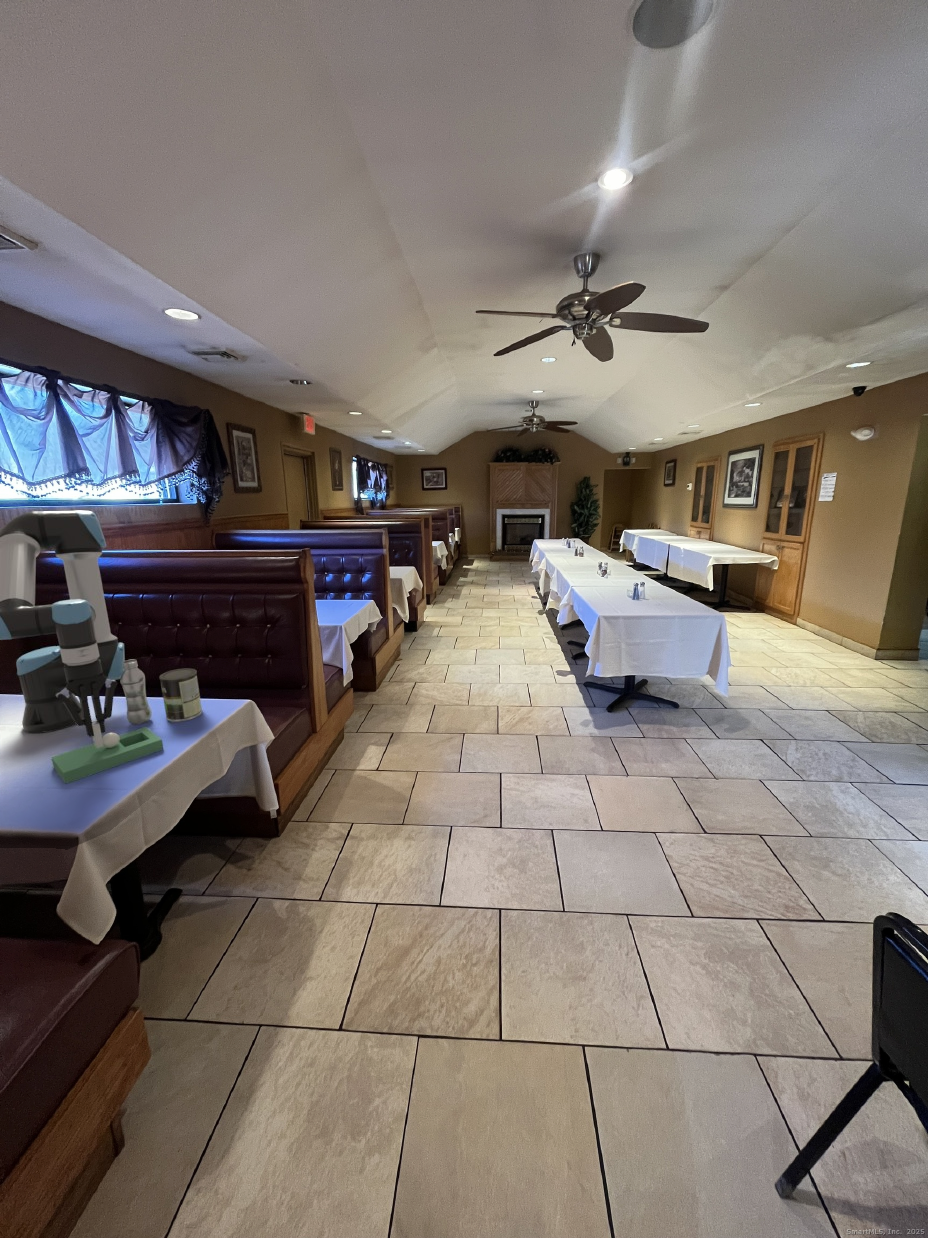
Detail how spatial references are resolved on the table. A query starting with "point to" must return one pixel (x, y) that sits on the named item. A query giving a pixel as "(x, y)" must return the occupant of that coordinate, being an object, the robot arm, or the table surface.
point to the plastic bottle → (135, 693)
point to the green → (105, 755)
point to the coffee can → (181, 694)
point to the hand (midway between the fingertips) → (99, 745)
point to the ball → (110, 740)
